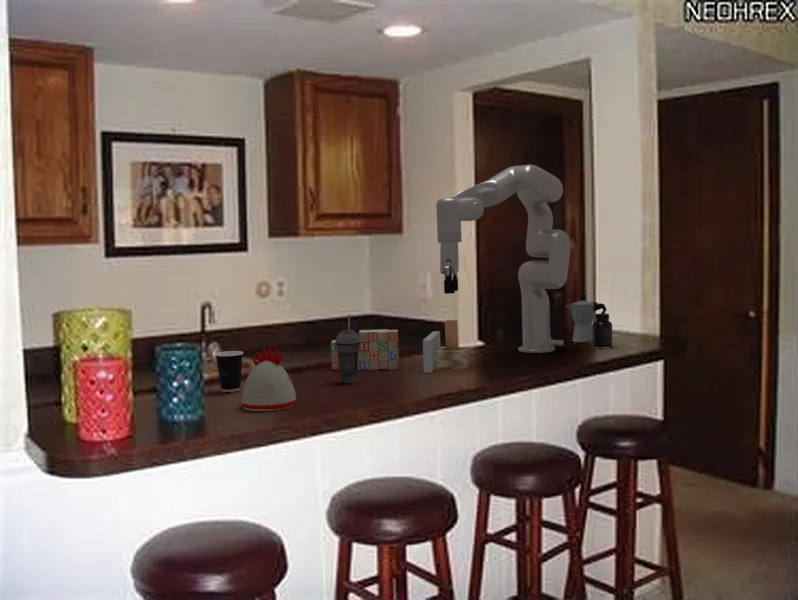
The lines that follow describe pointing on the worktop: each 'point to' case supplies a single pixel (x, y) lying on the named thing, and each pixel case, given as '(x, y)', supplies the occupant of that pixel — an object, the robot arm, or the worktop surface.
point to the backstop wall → (430, 350)
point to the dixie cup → (229, 369)
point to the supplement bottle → (602, 331)
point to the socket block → (451, 358)
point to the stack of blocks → (373, 350)
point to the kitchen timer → (268, 384)
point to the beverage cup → (348, 354)
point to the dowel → (451, 335)
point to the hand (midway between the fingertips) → (451, 292)
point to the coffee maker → (584, 318)
